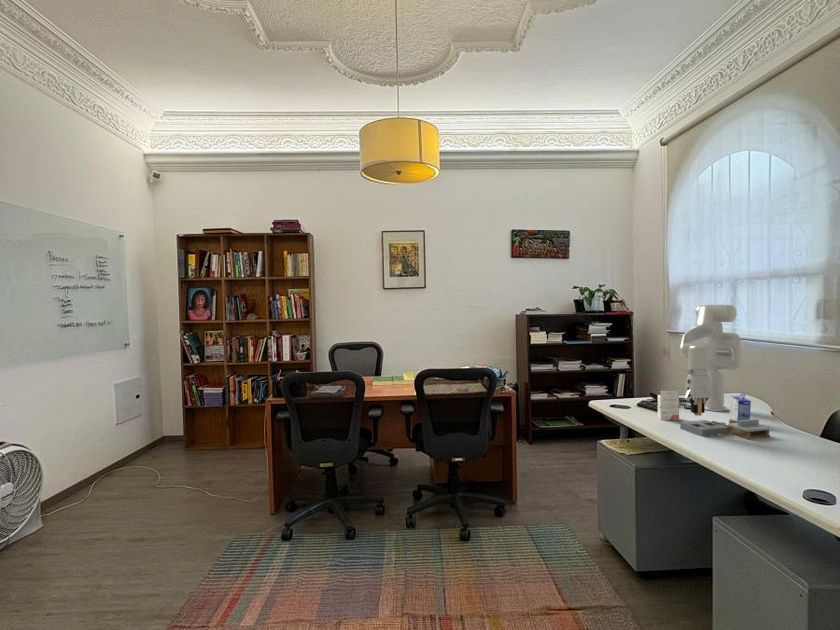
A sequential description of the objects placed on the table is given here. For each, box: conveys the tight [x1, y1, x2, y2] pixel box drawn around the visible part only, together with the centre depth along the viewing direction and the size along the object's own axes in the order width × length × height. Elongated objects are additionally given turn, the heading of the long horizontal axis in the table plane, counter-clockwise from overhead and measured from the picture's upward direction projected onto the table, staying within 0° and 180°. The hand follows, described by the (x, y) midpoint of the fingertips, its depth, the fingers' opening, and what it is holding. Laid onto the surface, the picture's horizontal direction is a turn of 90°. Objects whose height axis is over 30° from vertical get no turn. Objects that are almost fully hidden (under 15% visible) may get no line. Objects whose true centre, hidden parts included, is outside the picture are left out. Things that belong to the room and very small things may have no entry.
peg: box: [693, 398, 703, 417], centre depth 195 cm, size 3×3×8 cm
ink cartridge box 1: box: [657, 390, 680, 421], centre depth 216 cm, size 9×5×15 cm, turn 76°
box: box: [711, 418, 771, 440], centre depth 194 cm, size 18×12×3 cm, turn 12°
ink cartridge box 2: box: [729, 392, 752, 421], centre depth 207 cm, size 10×6×14 cm, turn 163°
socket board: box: [679, 419, 730, 437], centre depth 196 cm, size 12×14×3 cm
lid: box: [727, 418, 769, 432], centre depth 190 cm, size 9×11×3 cm
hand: (697, 412), depth 195 cm, fingers closed on peg, 3 cm apart
